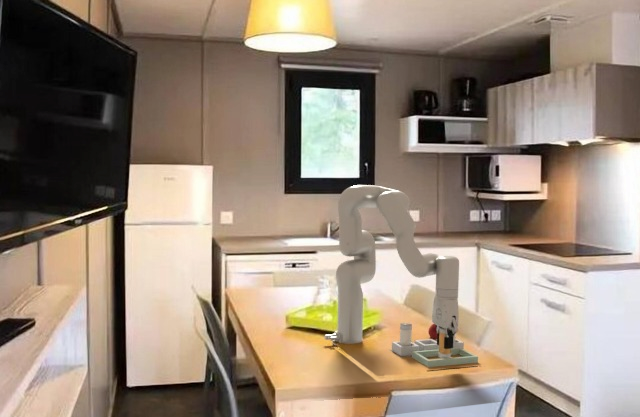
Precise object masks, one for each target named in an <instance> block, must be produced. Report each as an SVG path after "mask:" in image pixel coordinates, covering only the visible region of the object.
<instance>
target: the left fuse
mask: <svg viewBox="0 0 640 417" xmlns="http://www.w3.org/2000/svg"><path fill="white" fill-rule="evenodd" d="M412 328H413V325H412V323H409V322H401V323H399V330H400V331H399V341H400V345H401V346H411V342H412V332H413V331H412Z"/></svg>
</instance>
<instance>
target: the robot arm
mask: <svg viewBox="0 0 640 417" xmlns="http://www.w3.org/2000/svg"><path fill="white" fill-rule="evenodd" d="M338 198H339V199H338V202H337V211H338V237H339V238H338V241H339V243H338V245H339V251H340V253H341V254H342V255H343V256H345V257H347V258H348V257H350V258H351V257H353V259H350V260H345V261H342V262H341V263H339V265H338V266H337V268H336V272H335V278H336V286H337V320H336V322H337V325H336V326H337V327H336V328H337V329H336V330H335V331H334V333H332V334H329V333H328V334H324V339H325V340H326V341H327V340H330V341H332V344H333V345H334V346H336V347H340V346H339V345H337V344H336V343H335V342H337V343H339V344H347V345H348V344H349V345H350V344H351V345H353V344H359V343H362V342H363V327H364V325H363V324H364V323H363V322H364V321H363V320H364V292H363V289H362V284H366V283H368V282H371V281H372V280H373V279H374V277H375V274H376V270H377V268H376V267H377V266H376V265H377V264H376V262H377V261H376V242H375V241H376V240H375V238H374V236H373V235H372V233H371V232H370V231H368V230H366V229H363V226H362V224H363V220H362V216H361V213H360V211H359V210H360V209H370V208H371V209H372V208H374V209H378V211H379V213H380V214H381V216H382V217H383V219H384V221H385V223H386V224H387V227H389V229H390V230H391V232H392V233H393V235H394V238H395V245H396V251H397V253H398V256H399V258H400V260H401V262H402V264H403V265H404V267H405V268H406V270H407V271H408V272H409V273H410V274H411V276H413V277H415V278H420V279H421V278H425V277H429V276H435V292H434V293H435V294H434V299H433V304H432V315H431V322H432V324H435V325H436V328H437V330H436V332H437V339H436V341H437V345H439V327H442V328H444V329H445V334H446V337H444V348H445V349H452V348H453V338H454V336H455V333H456V334H457V333H458V332H459V328H458V326H459V317H460V315H459V314H460V313H459V300H458V299H459V284H460V283H459V280H460V278H459V277H460V259H459V258H458V257H455V256H450V255H449V256H448V255H439V254H435V253H432V252H431V253H430V252H429V253H423V254H422V253H421V251H420V249H419V248H418V246H417V245H416V244H417V243H416V242H415V239H414V236H415V235H414V234H415V230H416V228H417V222H415V220H414V219H413V217H412V216H411V214H410V213H409V209H410V206H411V201H410V198H409V196H408V195H407V194H406V193H405V192H403V191H400V190H396V189H393V188H388V187H384V186H380V185H373V184H372V185H371V184H368V185H367V184H357V185H353V186H349V187H347V188H345V189H344V190H343V191H342V192H341V194H340V196H339V197H338ZM450 326H451V327H450ZM450 329H451V330H450ZM448 330H450V331H448Z"/></svg>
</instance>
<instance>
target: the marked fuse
mask: <svg viewBox="0 0 640 417" xmlns="http://www.w3.org/2000/svg"><path fill="white" fill-rule="evenodd" d="M450 330H451V329H450ZM450 330H448V331H450ZM444 337H446V334H445V329H444V328H442V327H439V355H438V356H437V357H438V359H445V358H452V355H451V349H445V348H444Z"/></svg>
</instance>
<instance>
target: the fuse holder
mask: <svg viewBox="0 0 640 417" xmlns="http://www.w3.org/2000/svg"><path fill="white" fill-rule="evenodd" d="M464 347H465V343H464V342H463V341H462V340H460V339H458V338H456V342H453V348H462V349H464ZM438 349H439V345H437V340H436V339H433V338H430V339H429V338H428V339H415V340H414V342H412V341H411V346H401V345H400V340H399V341H392V342H391V349H389V351H390V352H392V353H394V355H396V356H398V357H400V358H404V357H412V352H413V351H426V350H438ZM464 350H465V349H464Z"/></svg>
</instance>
